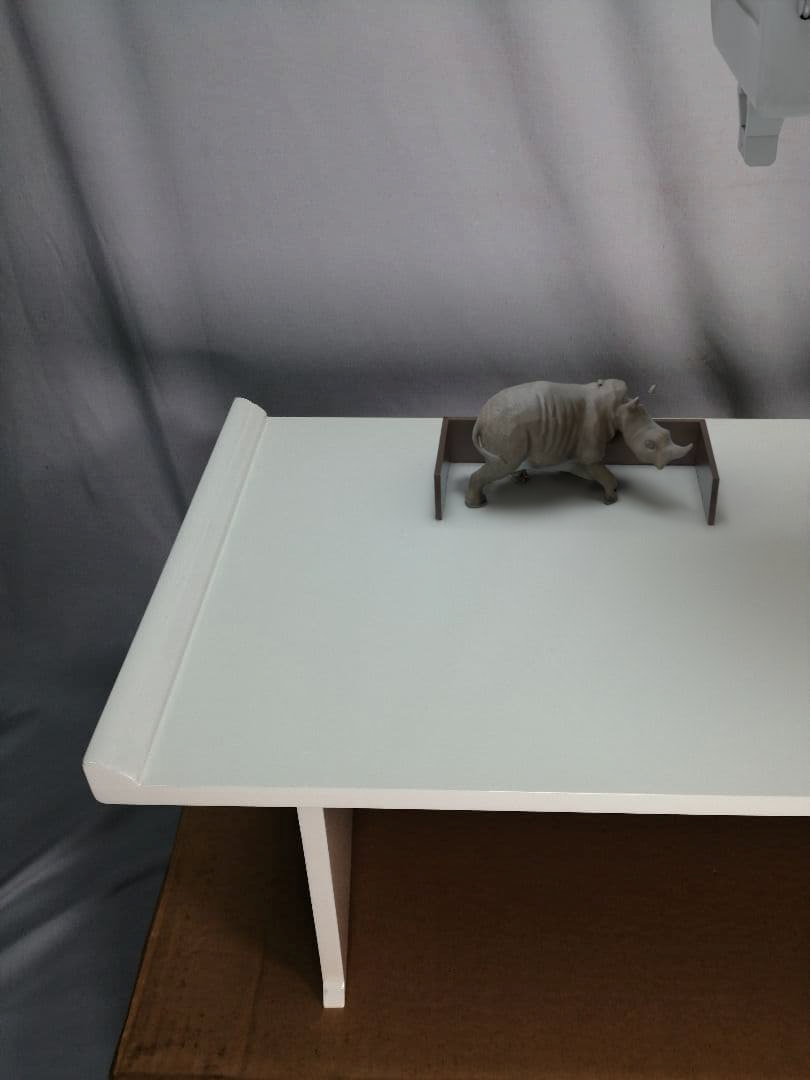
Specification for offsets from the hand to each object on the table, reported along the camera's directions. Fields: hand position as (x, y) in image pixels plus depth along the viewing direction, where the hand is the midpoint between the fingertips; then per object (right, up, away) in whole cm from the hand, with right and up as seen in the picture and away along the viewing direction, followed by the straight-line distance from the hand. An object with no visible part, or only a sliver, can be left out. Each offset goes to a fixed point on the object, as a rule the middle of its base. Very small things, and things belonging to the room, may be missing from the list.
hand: (755, 159), depth 70 cm
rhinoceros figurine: (-8, -19, +24) cm, 31 cm away
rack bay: (-8, -19, +23) cm, 31 cm away
